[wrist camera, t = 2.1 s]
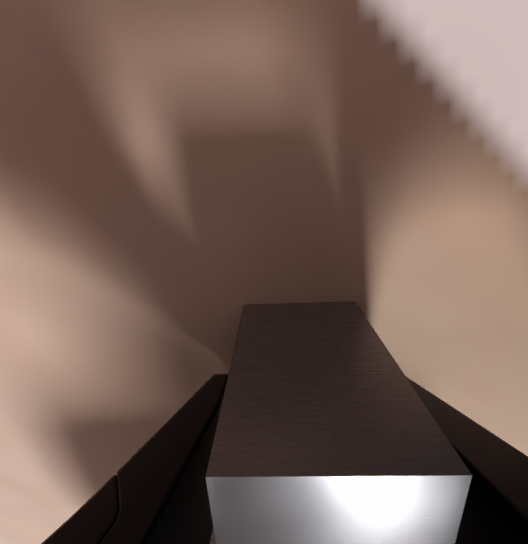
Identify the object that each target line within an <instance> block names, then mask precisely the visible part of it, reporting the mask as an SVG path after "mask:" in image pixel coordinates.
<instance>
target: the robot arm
mask: <svg viewBox="0 0 528 544" xmlns="http://www.w3.org/2000/svg"><path fill="white" fill-rule="evenodd" d="M228 375H229V374H215V375H213V376H212V377H211V378H210V379H209V380H208V381H207V382H206V383H205V384H204V385H203V386H202V387H201V388H200V389H199V390H198V391H197V392H196V393H195V394H194V395H193V396H192V397H191V398H190V399H189V400H188V401H187V402H186V403H185V404H184V405H183V406H182V407H181V408H180V409H179V410H178V411H177V412H176V413H175V414H174V415H173V416H172V417H171V418H170V419H169V420H168V421H167V422H166V423H165V424H164V425H163V426H162V427H161V428H160V429H159V430H158V431H157V432H156V433H155V434H154V435H153V436H152V437H151V438H150V439H149V440H148V441H147V442H146V443H145V444H144V445H143V446H142V447H141V448H140V449H139V450H138V451H137V452H136V453H135V454H134V455H133V456H132V457H131V458H130V459H129V460H128V461H127V462H126V463H125V464H124V465H123V466H122V467H121V468H120V469H119V470H118V472H117V474H116V475H117V476H116V475H114V476H112V477H111V478H110V479H109V480H108V481H107V482H106V483H105V484H104V485H103V486H102V487H101V488H100V489H99V490H98V491H97V492H96V493H95V494H94V495H93V496H92V497H91V498H90V499H89V500H88V501H87V502H86V503H85V504H84V505H83V506H82V507H81V508H80V509H79V510H78V511H77V512H76V513H75V514H74V515H72V516H71V517H70V518H69V519H68V520H67V521H66V522H65V523H64V524H63V525H61V526H60V527H59V528H58V529H57V530H56V531H55V532H54V533H53V534H52V535H50V536H49V537H48V538H47V539H46V540H45V541H44V542H43V543H42V544H210V539H211V535H212V530H213V521H212V515H211V509H210V502H209V496H208V490H207V483H206V473H207V468H208V464H209V459H210V455H211V451H212V446H213V442H214V437H215V433H216V428H217V424H218V419H219V415H220V410H221V406H222V402H223V397H224V393H225V388H226V384H227V379H228ZM406 378H407V377H406ZM407 379H408V381H409V382H410V384H411V385H412V387H413V388H414V390H415V391H416V393H417V394H418V396H419V397H420V399H421V400H422V402H423V403H424V405H425V406H426V408H427V409H428V411H429V412H430V414H431V415H432V417H433V418H434V420H435V421H436V422H437V424H438V425H439V427H440V428H441V430H442V431H443V433H444V434H445V436H446V437H447V439H448V440H449V442H450V443H451V445H452V446H453V448H454V449H455V451H456V452H457V454H458V455H459V457H460V458H461V460H462V461H463V463H464V464H465V465H466V467H467V468H468V470H469V471H470V473H471V474H472V478H471V482H470V486H469V490H468V494H467V498H466V502H465V506H464V510H463V514H462V518H461V522H460V526H459V530H458V534H457V537H456V541H455V544H528V456H526V455H525V454H523V453H522V452H520V451H519V450H517V449H516V448H514V447H512V446H511V445H509V444H508V443H506V442H505V441H503V440H502V439H500V438H499V437H497V436H496V435H494V434H493V433H491V432H490V431H488V430H487V429H485V428H484V427H482V426H480V425H479V424H477V423H476V422H474V421H473V420H471V419H470V418H468V417H467V416H465V415H464V414H462V413H461V412H459V411H458V410H456V409H455V408H453V407H452V406H450V405H448V404H447V403H445V402H444V401H442V400H441V399H439V398H438V397H436V396H435V395H433V394H432V393H430V392H429V391H427V390H426V389H424V388H423V387H421V386H420V385H418V384H416V383H415V382H413V381H412V380H410V379H409V378H407Z"/></svg>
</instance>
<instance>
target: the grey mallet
mask: <svg viewBox="0 0 528 544" xmlns="http://www.w3.org/2000/svg"><path fill="white" fill-rule="evenodd" d="M471 478H472V474H471V473H470V471H469V470H468V468H467V467H466V465H465V464H464V463H463V461H462V460H461V458H460V457H459V455H458V454H457V452H456V451H455V449H454V448H453V446H452V445H451V443H450V442H449V440H448V439H447V437H446V436H445V434H444V433H443V431H442V430H441V428H440V427H439V425H438V424H437V422H436V421H435V420H434V418H433V417H432V415H431V414H430V412H429V411H428V409H427V408H426V406H425V405H424V403H423V402H422V400H421V399H420V397H419V396H418V394H417V393H416V391H415V390H414V388H413V387H412V385H411V384H410V382H409V381H408V379H407V378H406V376H405V375H404V374H403V372H402V371H401V369H400V368H399V366H398V365H397V363H396V362H395V360H394V359H393V357H392V356H391V354H390V353H389V351H388V350H387V348H386V347H385V345H384V344H383V342H382V341H381V339H380V338H379V336H378V335H377V333H376V332H375V331H374V329H373V328H372V326H371V325H370V323H369V322H368V320H367V319H366V317H365V316H364V314H363V313H362V311H361V310H360V308H359V307H358V305H357V304H356V302H355V301H353V302H322V303H291V304H259V305H244V308H243V313H242V317H241V321H240V326H239V330H238V335H237V339H236V344H235V348H234V353H233V357H232V361H231V366H230V370H229V375H228V379H227V384H226V388H225V393H224V397H223V402H222V406H221V410H220V415H219V419H218V424H217V428H216V433H215V437H214V442H213V446H212V451H211V455H210V459H209V464H208V468H207V473H206V483H207V490H208V496H209V502H210V509H211V515H212V521H213V528H214V534H215V541H216V544H455V541H456V537H457V534H458V530H459V526H460V522H461V518H462V514H463V510H464V506H465V502H466V498H467V494H468V490H469V486H470V482H471Z"/></svg>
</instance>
